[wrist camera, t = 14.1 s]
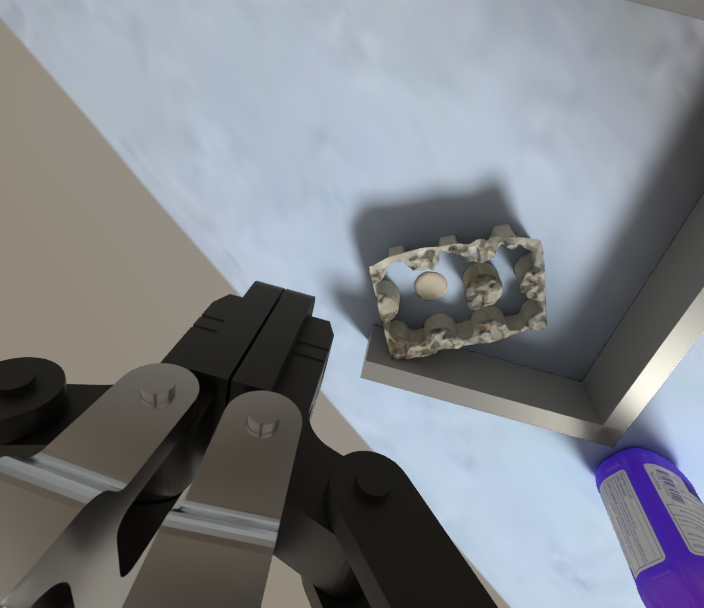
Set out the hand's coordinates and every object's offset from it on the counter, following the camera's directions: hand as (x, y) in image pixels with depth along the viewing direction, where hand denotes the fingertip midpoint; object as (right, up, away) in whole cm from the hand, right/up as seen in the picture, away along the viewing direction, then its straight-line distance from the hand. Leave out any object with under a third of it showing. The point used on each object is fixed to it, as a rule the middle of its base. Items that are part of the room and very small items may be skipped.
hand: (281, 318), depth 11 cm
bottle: (+25, -13, +25) cm, 38 cm away
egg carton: (+9, +2, +19) cm, 21 cm away
